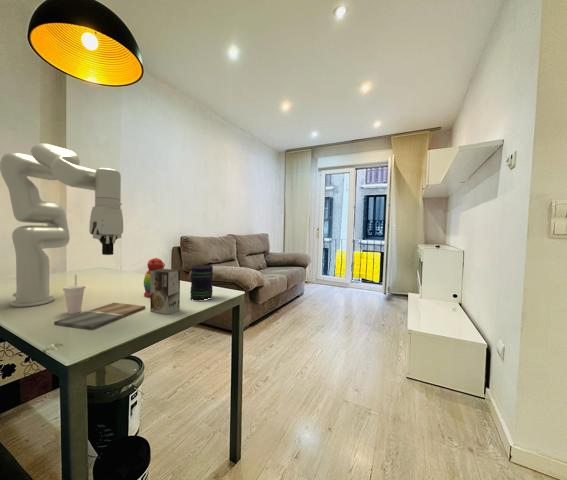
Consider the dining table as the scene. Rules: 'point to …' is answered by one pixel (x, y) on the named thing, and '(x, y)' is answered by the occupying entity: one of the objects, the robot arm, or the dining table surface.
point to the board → (99, 316)
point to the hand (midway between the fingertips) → (107, 254)
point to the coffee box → (164, 291)
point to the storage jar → (201, 282)
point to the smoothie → (74, 297)
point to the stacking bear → (152, 265)
